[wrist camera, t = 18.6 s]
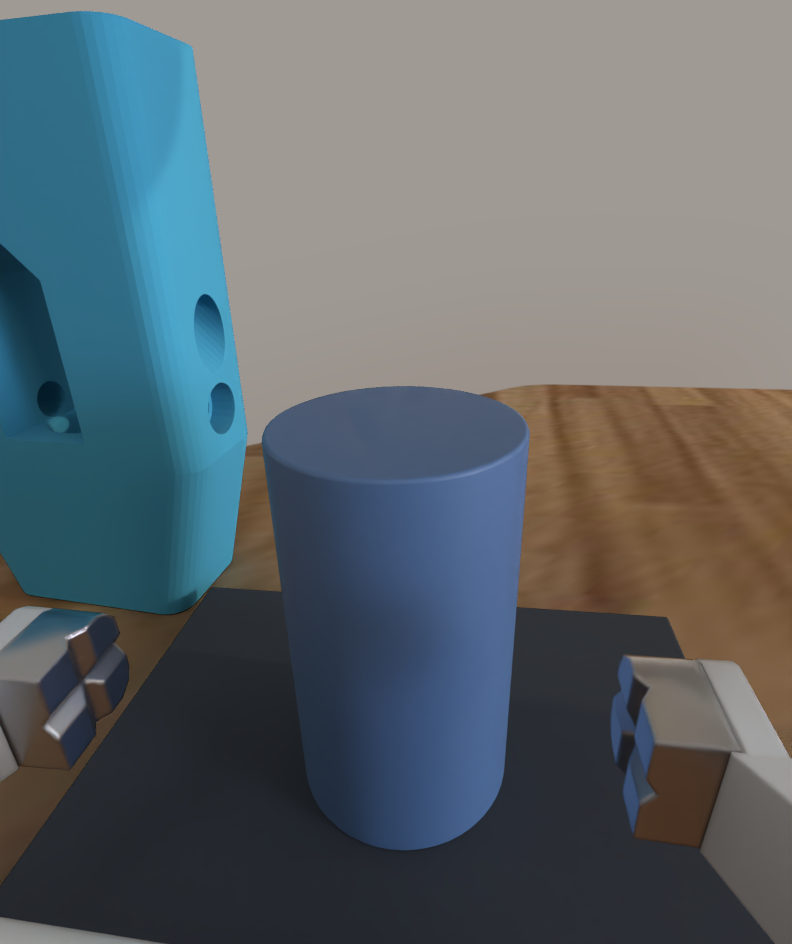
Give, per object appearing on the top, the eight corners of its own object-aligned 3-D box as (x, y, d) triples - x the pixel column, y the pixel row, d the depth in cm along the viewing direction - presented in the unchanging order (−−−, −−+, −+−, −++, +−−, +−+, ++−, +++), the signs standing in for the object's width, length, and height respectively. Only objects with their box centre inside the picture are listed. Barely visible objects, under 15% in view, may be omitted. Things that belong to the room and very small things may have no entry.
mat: (663, 637, 22) (667, 616, 22) (899, 1218, 9) (920, 1196, 9) (215, 605, 24) (211, 586, 24) (-71, 1033, 12) (-89, 1009, 11)
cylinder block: (502, 687, 19) (522, 386, 14) (507, 866, 14) (541, 486, 9) (332, 672, 19) (305, 383, 15) (279, 837, 14) (215, 474, 10)
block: (-20, 587, 26) (-238, 47, 18) (62, 531, 30) (-81, 77, 22) (221, 622, 23) (103, 8, 15) (273, 555, 28) (204, 51, 19)
